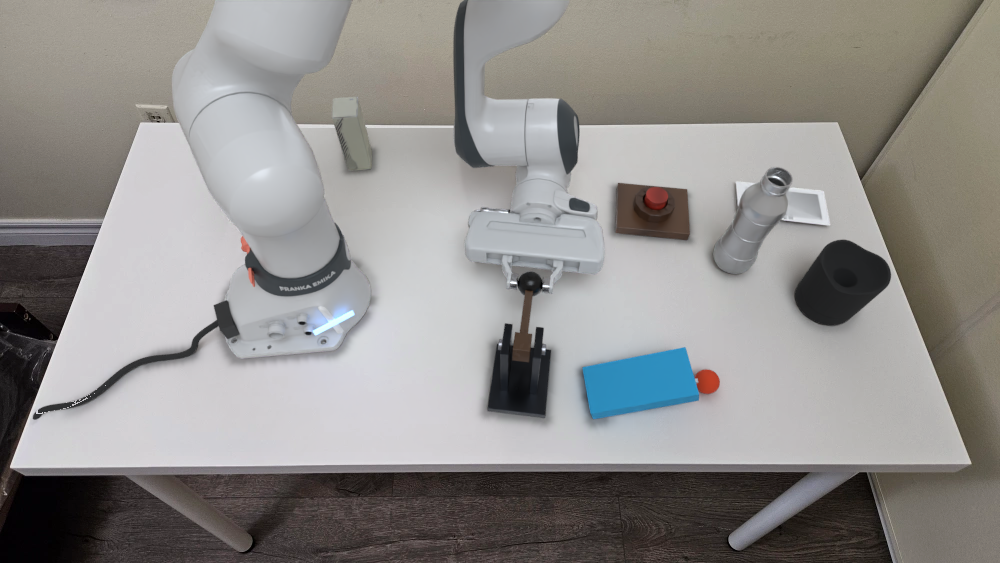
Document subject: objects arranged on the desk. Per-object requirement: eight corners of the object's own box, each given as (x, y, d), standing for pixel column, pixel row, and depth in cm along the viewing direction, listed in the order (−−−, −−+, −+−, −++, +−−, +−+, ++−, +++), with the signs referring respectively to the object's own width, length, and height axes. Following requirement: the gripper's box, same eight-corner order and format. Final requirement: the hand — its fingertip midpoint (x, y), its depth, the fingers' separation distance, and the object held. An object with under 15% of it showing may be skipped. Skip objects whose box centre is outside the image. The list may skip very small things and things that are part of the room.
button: (644, 209, 96) (646, 202, 94) (643, 192, 98) (646, 185, 96) (665, 211, 95) (668, 204, 94) (665, 194, 97) (667, 187, 96)
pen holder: (807, 333, 86) (839, 298, 78) (781, 281, 91) (809, 243, 83) (865, 324, 87) (904, 289, 79) (836, 273, 92) (869, 235, 84)
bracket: (497, 347, 85) (496, 302, 75) (550, 353, 85) (557, 309, 74) (487, 411, 80) (485, 373, 69) (544, 418, 79) (551, 381, 69)
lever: (518, 282, 83) (519, 264, 81) (542, 284, 83) (544, 267, 80) (506, 362, 74) (507, 345, 71) (534, 365, 73) (536, 349, 71)
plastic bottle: (747, 246, 95) (799, 160, 78) (752, 281, 92) (808, 197, 75) (707, 243, 96) (751, 156, 79) (711, 277, 92) (758, 194, 75)
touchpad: (733, 185, 103) (737, 176, 101) (820, 195, 101) (826, 186, 99) (736, 219, 98) (740, 210, 97) (827, 229, 97) (833, 221, 95)
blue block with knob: (597, 429, 83) (726, 406, 80) (590, 413, 77) (728, 389, 74) (589, 384, 87) (712, 361, 83) (582, 367, 81) (713, 341, 78)
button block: (615, 233, 97) (618, 220, 94) (616, 189, 102) (619, 175, 99) (687, 240, 96) (693, 227, 93) (684, 195, 101) (690, 181, 98)
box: (349, 152, 108) (331, 96, 97) (372, 150, 108) (358, 94, 97) (348, 172, 105) (330, 117, 94) (372, 170, 105) (357, 115, 94)
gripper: (470, 192, 86) (454, 268, 78) (608, 206, 84) (605, 284, 77) (472, 219, 91) (457, 293, 84) (601, 232, 90) (598, 308, 82)
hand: (529, 289), depth 80 cm, fingers closed on lever, 4 cm apart
